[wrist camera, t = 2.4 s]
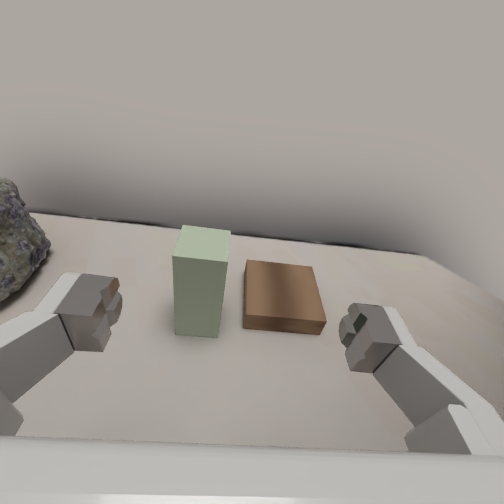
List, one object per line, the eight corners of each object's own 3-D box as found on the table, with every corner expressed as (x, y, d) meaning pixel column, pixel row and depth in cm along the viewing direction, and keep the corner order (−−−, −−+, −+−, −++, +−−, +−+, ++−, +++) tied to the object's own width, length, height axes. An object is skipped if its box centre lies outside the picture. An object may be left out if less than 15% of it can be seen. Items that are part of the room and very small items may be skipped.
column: (221, 305, 32) (230, 230, 25) (217, 337, 29) (227, 261, 22) (183, 301, 32) (182, 225, 25) (175, 334, 28) (172, 255, 22)
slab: (305, 282, 38) (312, 266, 37) (318, 336, 31) (326, 321, 30) (243, 275, 38) (246, 259, 36) (242, 330, 31) (246, 314, 29)
